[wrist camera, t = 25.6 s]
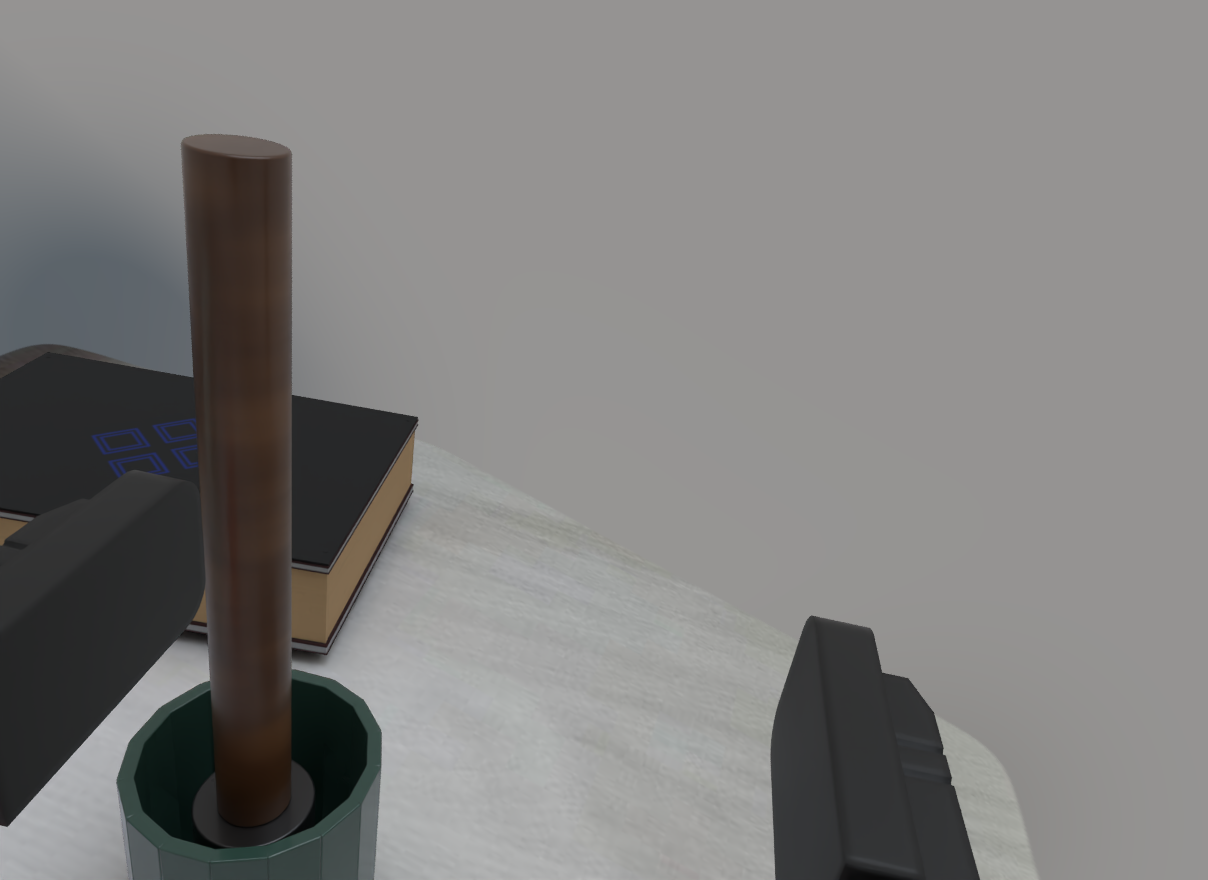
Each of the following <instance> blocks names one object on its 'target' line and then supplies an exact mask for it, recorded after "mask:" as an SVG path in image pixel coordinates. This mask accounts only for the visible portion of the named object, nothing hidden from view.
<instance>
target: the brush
mask: <svg viewBox="0 0 1208 880" xmlns="http://www.w3.org/2000/svg"><path fill="white" fill-rule="evenodd" d="M181 155H182V173H183V191H184V209H185V229H186V246H187V265H188V282H189V283H188V284H189V301H190V320H191V339H192V357H193V375H194V394H195V412H196V431H197V449H198V468H199V486H200V499H201V513H202V528H203V543H204V559H205V574H206V582H205V596H206V615H207V633H208V652H209V670H210V688H211V707H212V725H213V743H214V762H215V772H214V773H213V774H211V775H210V776H209V777H208V778H207V779H206V780H205V781H204V782H203V784H202V785H201V786H200V788H199V790H198V791H197V793H196V795H195V797H194V800H193V803H192V808H191V818H192V831H193V843H196V844H200V845H203V846H207V847H210V848H214V849H223V848H236V847H250V846H264V845H269V844H271V843H274V842H276V841H279V840H281V839H284V838H286V837H289V836H292V835H294V834H297V833H299V832H302V831H304V830H307V829H309V828H312V827H314V826H315V786H314V782H313V780H312V778H311V776H310V775H309V773H308V772H307V771H306V770H305V769H304V767H302V766H301V765H300V764H298V763H297V762H295V761H293V760H291V684H292V153H291V151H290V149H288V148H287V147H285V146H283V145H281V144H278V143H275V142H272V141H267V140H263V139H258V138H252V137H244V136H237V135H222V134H221V135H220V134H204V135H195V136H190V137H186V138H184V139H183V140H182V142H181Z"/></svg>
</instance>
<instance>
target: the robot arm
mask: <svg viewBox="0 0 1208 880" xmlns="http://www.w3.org/2000/svg"><path fill="white" fill-rule="evenodd" d="M205 582H206V574H205V559H204V543H203V528H202V513H201V499H200V493H199V490H198V488H197V486H196V485H195V484H194V483H193V482H190V481H186V480H181V479H176V478H171V477H167V476H162V475H157V474H153V473H148V472H143V471H139V470H131V471H129V472H126V473H125V474H123V475H122V476H120V477H119V478H118V479H116V480H115V481H114V482H112V483H111V484H110V485H108V486H107V487H106V488H104V489H103V490H102V491H100V492H99V493H98V494H96V495H95V496H94V497H92V498H91V499H90V500H88V499H84V498H82V499H79V500H77V501H74V502H72V503H69V504H67V505H64V506H61V507H59V508H56V509H54V510H51V511H49V512H46V513H44V514H41V515H39V516H37V517H36V518H34V519H33V520H31V521H30V522H29V523H27V524H26V525H24V526H23V527H22V528H20V529H19V530H17V531H16V532H15V533H13V534H12V535H10V536H9V537H8V538H6V539H5V540H4V544H3V545H0V825H2V826H6V827H8V826H9V825H10V824H11V822H12V821H13V820H14V819H15V818H16V817H17V816H18V815H19V814H20V812H21V811H22V810H23V809H24V808H25V807H26V806H27V805H28V804H29V802H30V801H31V800H32V799H33V798H34V797H35V796H36V795H37V794H38V792H39V791H40V790H41V789H42V788H43V787H44V786H45V785H46V784H47V782H48V781H49V780H50V779H51V778H52V777H53V776H54V775H55V774H56V772H57V771H58V770H59V769H60V768H61V767H62V766H63V765H64V764H65V762H66V761H67V760H68V759H69V758H70V757H71V756H72V755H73V754H74V752H75V751H76V750H77V749H78V748H79V747H80V746H81V745H82V744H83V742H84V741H85V740H86V739H87V738H88V737H89V736H90V735H91V734H92V732H93V731H94V730H95V729H96V728H97V727H98V726H99V725H100V724H101V722H102V721H103V720H104V719H105V718H106V717H107V716H108V715H109V714H110V712H111V711H112V710H113V709H114V708H115V707H116V706H117V705H118V704H119V702H120V701H121V700H122V699H123V698H124V697H125V696H126V695H127V694H128V692H129V691H130V690H131V689H132V688H133V687H134V686H135V685H136V684H137V682H138V681H139V680H140V679H141V678H142V677H143V676H144V675H145V674H146V672H147V671H148V670H149V669H150V668H151V667H152V666H153V665H154V664H155V662H156V661H157V660H158V659H159V658H160V657H161V656H162V655H163V654H164V652H165V651H166V650H167V649H168V648H169V647H170V646H171V645H172V644H173V642H174V641H175V640H176V639H177V638H178V637H179V636H180V635H181V634H182V632H183V631H184V630H185V629H186V628H187V627H188V626H189V624H190V623H191V622H192V620H193V619H194V617H195V615H196V613H197V611H198V609H199V607H200V604H201V601H202V598H203V594H204V590H205ZM943 749H944V748H943V744H942V741H941V737H940V733H939V730H938V726H937V723H936V719H935V715H934V712H933V711H932V710H931V708H930V707H929V706H928V704H927V703H926V702H925V700H924V699H923V698H922V696H921V695H920V694H919V692H918V691H917V689H916V688H915V687H914V685H913V684H912V683H911V681H910V680H909V679H908V678H904V677H900V676H895V675H890V674H885V673H882V670H881V665H880V661H879V656H878V652H877V647H876V643H875V638H874V634H873V632H872V630H871V629H870V628H867V627H862V626H858V625H853V624H848V623H844V622H839V621H834V620H829V619H825V618H820V617H816V616H810V617H809V618H808V620H807V621H806V624H805V626H804V628H803V631H802V634H801V637H800V640H799V643H798V646H797V649H796V652H795V655H794V658H793V661H792V664H791V667H790V670H789V673H788V676H787V679H786V682H785V685H784V688H783V691H782V694H781V697H780V700H779V704H778V707H777V711H776V715H775V719H774V725H773V731H772V739H771V780H772V805H773V829H774V854H775V878H776V880H980V878H979V874H978V871H977V867H976V864H975V860H974V856H973V853H972V849H971V846H970V842H969V838H968V835H967V831H966V827H965V824H964V820H963V817H962V813H961V809H960V806H959V802H958V799H957V795H956V791H955V788H954V786H952V785H951V779H952V777H951V773H950V770H949V766H948V762H947V759H946V756H945V755H943Z"/></svg>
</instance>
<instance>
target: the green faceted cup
mask: <svg viewBox="0 0 1208 880" xmlns="http://www.w3.org/2000/svg"><path fill="white" fill-rule="evenodd" d="M381 758H382V732H381V729H380V727H379V725H378V724H377V722H376V720H375V718H374V717H373V715H372V713H371V711H370V710H369V708H368V706H367V704H366V703H365V701H364V700H363V699H362V698H360V697H359V696H357V695H356V694H354V693H353V692H351V691H350V690H348V689H347V688H346V687H344V686H343V685H341V684H340V683H338V682H337V681H335V680H333V679H330V678H326V677H322V676H318V675H314V674H310V673H307V672H303V671H299V670H293V669H292V684H291V760H293V761H295V762H297V763H298V764H300V765H301V766H302V767H304V769H305V770H306V771H307V772H308V773H309V775H310V776H311V778H312V780H313V782H314V786H315V826H314V827H312V828H309V829H307V830H304V831H302V832H299V833H297V834H294V835H292V836H289V837H286V838H284V839H281V840H279V841H276V842H274V843H271V844H269V845H264V846H250V847H236V848H223V849H214V848H210V847H207V846H203V845H200V844H196V843H193V831H192V818H191V808H192V803H193V800H194V797H195V795H196V793H197V791H198V790H199V788H200V786H201V785H202V784H203V782H204V781H205V780H206V779H207V778H208V777H209V776H210V775H211V774H213V773H214V772H215V762H214V743H213V725H212V707H211V688H210V681H207V682H204V683H202V684H199V685H197V686H196V687H194V688H192V689H191V690H189V691H187V692H185V693H184V694H182V695H180V696H179V697H177V698H175V699H173V700H172V701H170V702H168V703H167V704H165V705H163V706H162V707H161V708H159V709H158V710H157V711H156V712H155V713H154V715H153V716H152V717H151V718H150V719H149V720H148V721H147V722H146V723H145V725H144V726H143V727H142V728H141V729H140V730H139V731H138V732H137V733H136V734H135V736H134V737H133V738H132V739H131V740H130V742H129V744H128V747H127V750H126V753H125V756H124V759H123V762H122V765H121V768H120V771H119V774H118V777H117V782H116V784H117V792H118V800H119V808H120V816H121V824H122V831H123V839H124V847H125V855H126V863H127V871H128V879H129V880H374V871H375V856H376V841H377V826H378V811H379V795H380V780H381Z"/></svg>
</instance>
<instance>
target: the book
mask: <svg viewBox="0 0 1208 880" xmlns="http://www.w3.org/2000/svg"><path fill="white" fill-rule="evenodd" d="M417 422H418V417H414V416H409V415H403V414H397V413H392V412H386V411H380V410H374V409H369V408H363V407H357V406H351V405H346V404H340V403H334V402H329V401H323V400H318V399H311V398H306V397H301V396H294V395H292V649H295V650H300V651H306V652H312V653H318V654H324V655H327V654H328V652H329V650H330V648H331V646H332V644H333V642H334V640H335V638H336V637H337V635H338V633H339V631H340V629H341V627H342V625H343V623H344V621H345V619H346V618H347V616H348V614H349V612H350V610H351V608H352V606H353V604H354V602H355V600H356V599H357V597H358V595H359V593H360V591H361V589H362V587H363V585H364V583H365V581H366V580H367V578H368V576H369V574H370V572H371V570H372V568H373V566H374V564H375V562H376V561H377V559H378V557H379V555H380V553H381V551H382V549H383V547H384V545H385V543H386V542H387V540H388V538H389V536H390V534H391V532H392V530H393V528H394V526H395V525H396V523H397V521H398V519H399V517H400V515H401V513H402V511H403V509H404V507H405V506H406V504H407V502H408V500H409V498H410V496H411V494H412V492H413V485H414V484H411V477H412V463H413V449H414V435H415V429H416V427H417V426H418V424H417ZM131 470H139V471H143V472H148V473H153V474H157V475H162V476H167V477H171V478H176V479H181V480H186V481H190V482H193V483H194V484H195V485H196V486H197V488H198V490H199V493H200V486H199V468H198V449H197V431H196V412H195V394H194V378H192V377H187V376H181V375H176V374H170V373H164V372H159V371H153V370H147V369H141V368H136V367H130V366H124V365H119V364H113V363H107V362H102V361H96V360H90V359H85V358H79V357H73V356H68V355H62V354H56V353H51V352H47V353H45V354H44V355H42V356H40V357H38V358H36V359H35V360H33V361H31V362H29V363H28V364H26V365H24V366H22V367H20V368H19V369H17V370H15V371H13V372H11V373H10V374H8V375H6V376H4V377H2V378H1V379H0V545H3V544H4V540H5V539H6V538H8V537H9V536H10V535H12V534H13V533H15V532H16V531H17V530H19V529H20V528H22V527H23V526H24V525H26V524H27V523H29V522H30V521H31V520H33V519H34V518H36V517H37V516H39V515H41V514H44V513H46V512H49V511H51V510H54V509H56V508H59V507H61V506H64V505H67V504H69V503H72V502H74V501H77V500H79V499H82V498H84V499H88V500H90V499H91V498H92V497H94V496H95V495H96V494H98V493H99V492H100V491H102V490H103V489H104V488H106V487H107V486H108V485H110V484H111V483H112V482H114V481H115V480H116V479H118V478H119V477H120V476H122V475H123V474H125V473H126V472H129V471H131ZM184 631H190V632H196V633H202V634H207V635H208V633H207V615H206V596H205V590H204V594H203V598H202V601H201V604H200V607H199V609H198V611H197V613H196V615H195V617H194V619H193V620H192V622H191V623H190V624H189V626H188V627H187V628H186V629H185V630H184Z"/></svg>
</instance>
